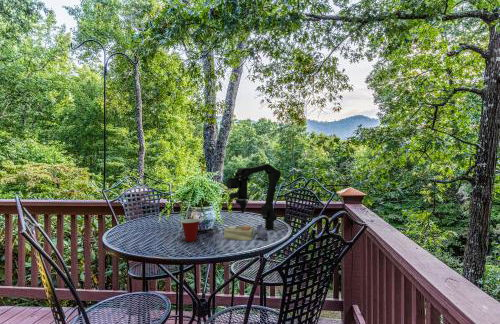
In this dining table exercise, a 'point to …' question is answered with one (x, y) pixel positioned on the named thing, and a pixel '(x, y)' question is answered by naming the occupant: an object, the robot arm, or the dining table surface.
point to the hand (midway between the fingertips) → (242, 212)
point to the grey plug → (232, 228)
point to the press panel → (239, 233)
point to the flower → (260, 232)
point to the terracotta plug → (246, 227)
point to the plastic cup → (190, 229)
